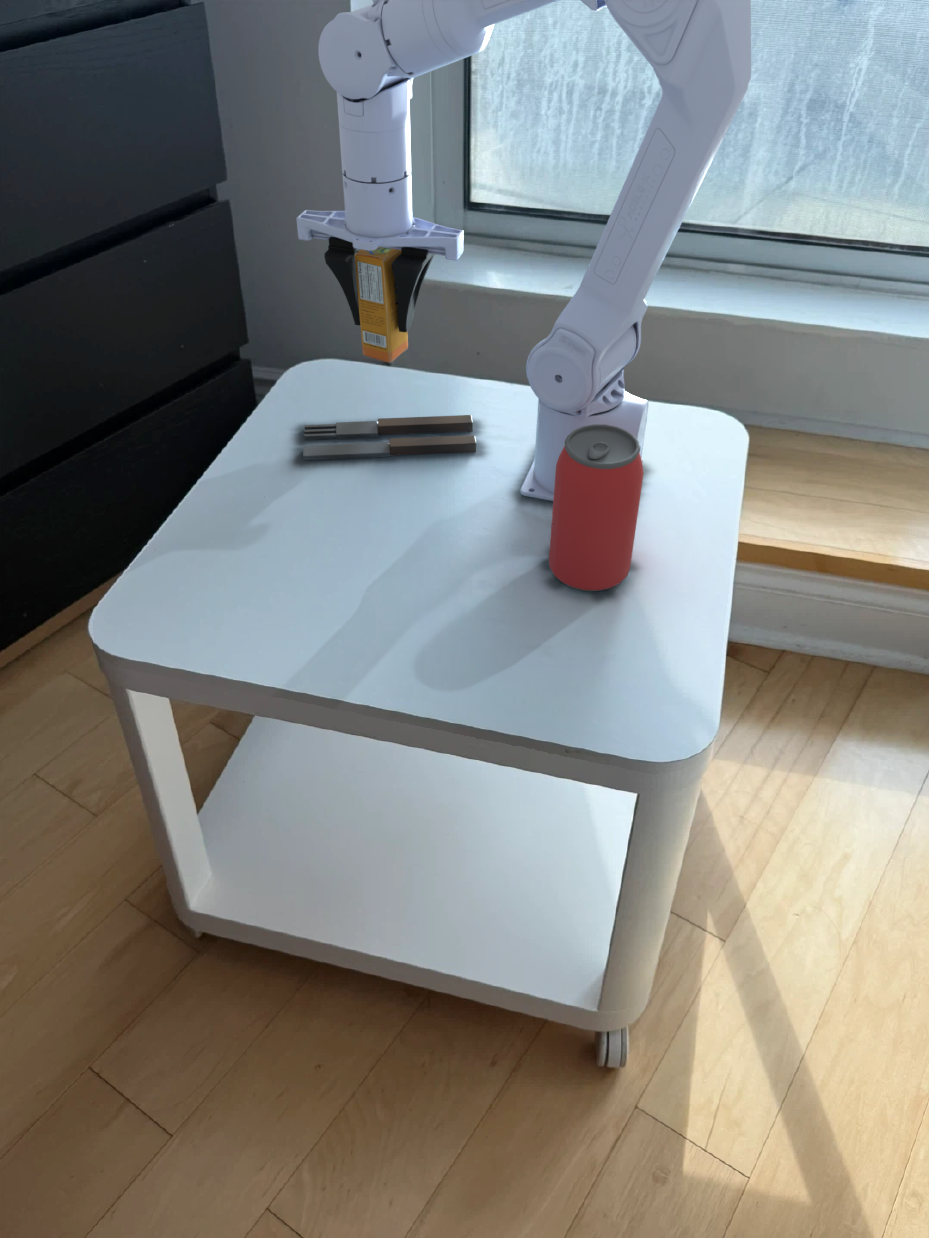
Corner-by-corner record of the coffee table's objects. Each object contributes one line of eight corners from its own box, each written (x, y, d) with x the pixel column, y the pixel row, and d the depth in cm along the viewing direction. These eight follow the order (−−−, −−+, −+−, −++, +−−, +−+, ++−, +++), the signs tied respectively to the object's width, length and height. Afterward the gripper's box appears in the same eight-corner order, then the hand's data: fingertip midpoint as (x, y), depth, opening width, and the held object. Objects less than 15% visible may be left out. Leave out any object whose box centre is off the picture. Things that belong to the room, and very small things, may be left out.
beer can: (534, 579, 86) (543, 453, 78) (567, 535, 90) (579, 411, 82) (611, 605, 84) (627, 478, 76) (641, 558, 88) (659, 433, 80)
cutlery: (470, 421, 104) (471, 412, 103) (476, 453, 100) (476, 444, 99) (305, 428, 103) (303, 419, 102) (303, 460, 98) (302, 451, 98)
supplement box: (377, 341, 101) (374, 237, 94) (408, 350, 100) (407, 246, 93) (358, 355, 99) (353, 250, 92) (390, 365, 97) (387, 259, 91)
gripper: (275, 178, 87) (292, 332, 96) (445, 199, 84) (446, 356, 93) (309, 149, 92) (322, 298, 101) (471, 168, 89) (469, 320, 98)
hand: (383, 324), depth 97 cm, fingers closed on supplement box, 4 cm apart
